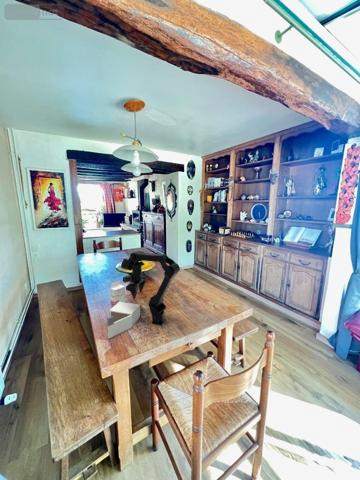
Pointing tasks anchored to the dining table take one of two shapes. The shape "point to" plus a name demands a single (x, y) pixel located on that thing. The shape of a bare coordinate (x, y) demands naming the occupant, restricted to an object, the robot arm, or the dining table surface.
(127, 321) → the front flap
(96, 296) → the dining table surface
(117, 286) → the ink cartridge box
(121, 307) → the carton
